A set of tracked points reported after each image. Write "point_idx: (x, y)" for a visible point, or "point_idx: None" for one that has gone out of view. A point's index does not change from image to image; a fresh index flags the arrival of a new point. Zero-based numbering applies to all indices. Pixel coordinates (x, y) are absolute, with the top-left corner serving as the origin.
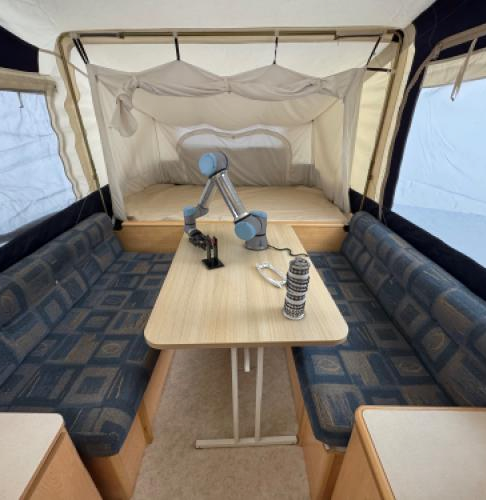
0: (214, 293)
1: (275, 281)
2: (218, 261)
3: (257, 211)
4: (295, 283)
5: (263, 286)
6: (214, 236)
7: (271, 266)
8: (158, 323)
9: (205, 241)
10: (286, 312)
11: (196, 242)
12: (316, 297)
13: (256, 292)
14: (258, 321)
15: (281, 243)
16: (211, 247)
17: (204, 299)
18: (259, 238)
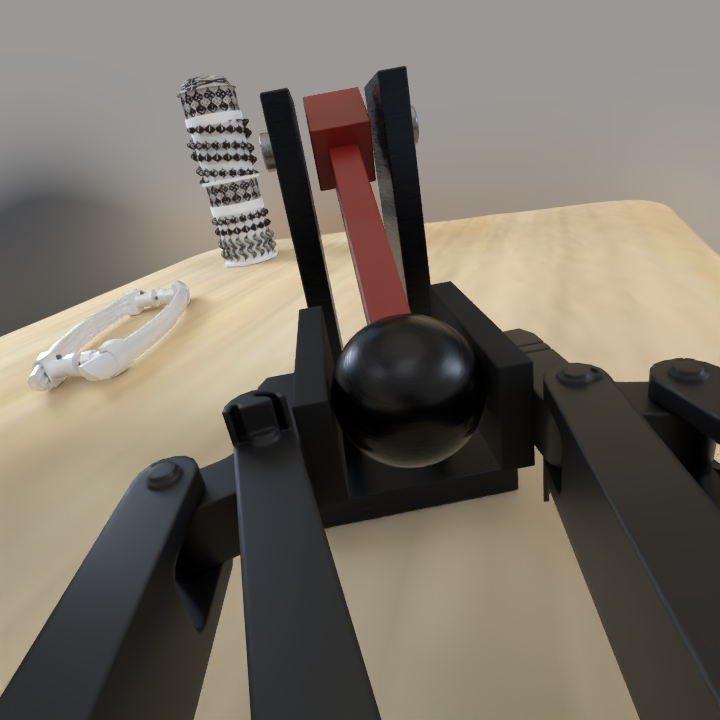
0: (448, 272)
1: (181, 284)
2: None
3: None
4: (246, 137)
5: (231, 301)
6: (267, 93)
7: (56, 351)
8: (649, 212)
9: (397, 314)
10: (274, 241)
11: (674, 382)
12: (138, 286)
13: (282, 285)
14: None
15: None
16: (330, 351)
17: (495, 257)
18: None
